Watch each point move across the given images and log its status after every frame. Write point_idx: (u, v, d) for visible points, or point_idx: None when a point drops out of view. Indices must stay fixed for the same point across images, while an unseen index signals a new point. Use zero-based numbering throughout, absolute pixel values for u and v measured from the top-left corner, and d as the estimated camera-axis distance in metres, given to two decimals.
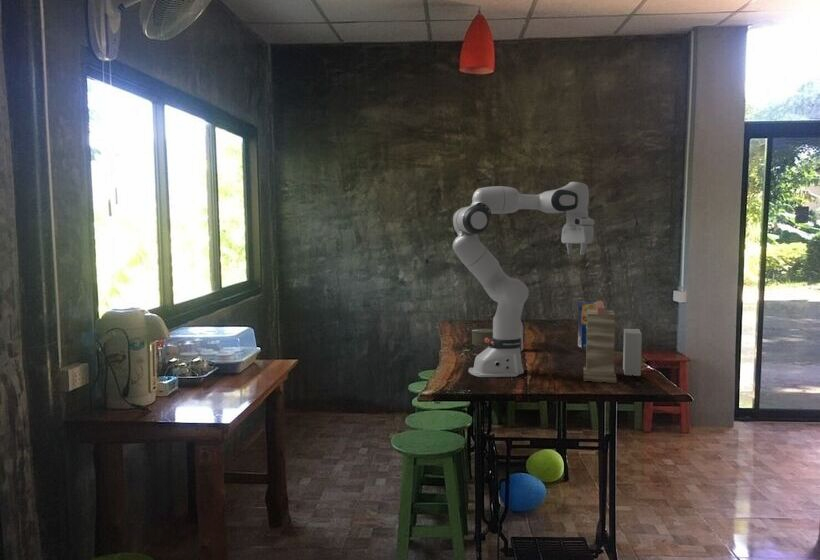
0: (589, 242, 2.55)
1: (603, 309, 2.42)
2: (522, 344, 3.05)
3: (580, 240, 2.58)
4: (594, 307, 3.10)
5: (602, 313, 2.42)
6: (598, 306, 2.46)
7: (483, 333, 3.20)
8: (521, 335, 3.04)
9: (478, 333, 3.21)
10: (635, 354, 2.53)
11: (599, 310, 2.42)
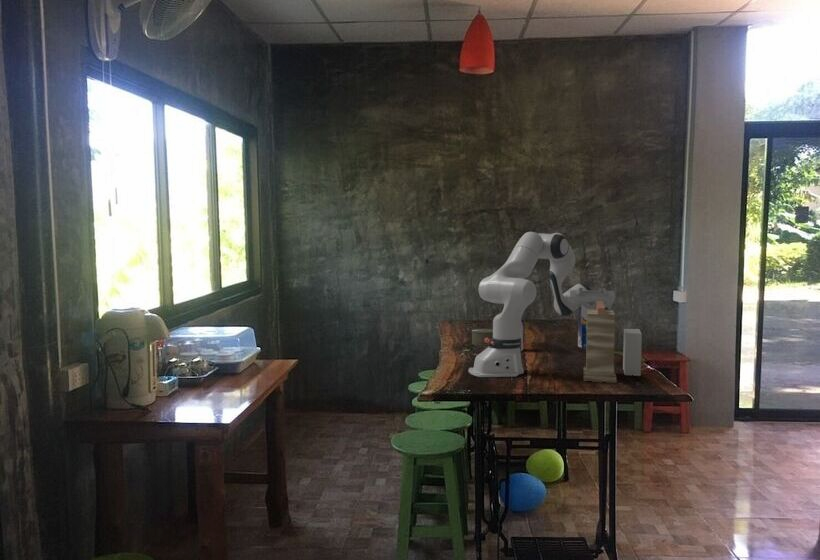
0: (614, 295, 2.80)
1: (603, 309, 2.42)
2: (522, 344, 3.05)
3: None
4: None
5: (602, 313, 2.42)
6: (598, 306, 2.46)
7: (483, 333, 3.20)
8: (521, 335, 3.04)
9: (478, 333, 3.21)
10: (635, 354, 2.53)
11: (599, 310, 2.42)
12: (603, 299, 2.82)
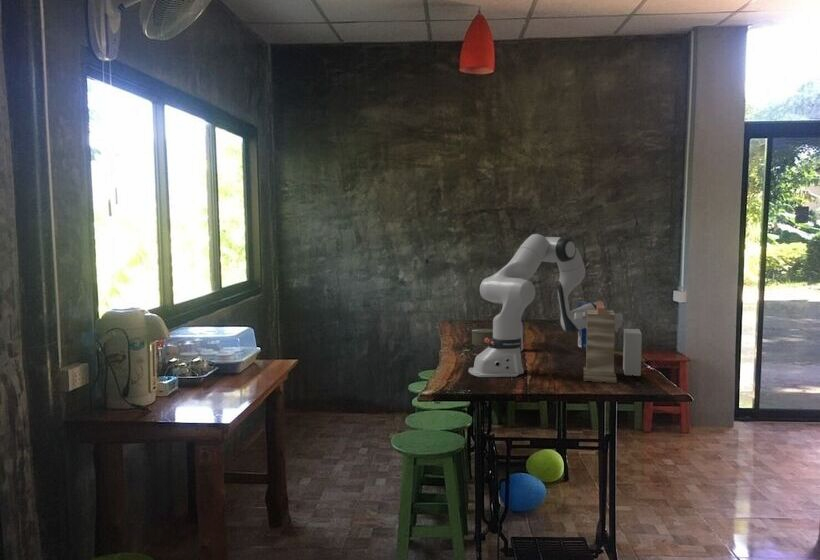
0: (622, 318, 2.70)
1: (603, 309, 2.42)
2: (522, 344, 3.05)
3: None
4: None
5: (602, 313, 2.42)
6: (598, 306, 2.46)
7: (483, 333, 3.20)
8: (521, 335, 3.04)
9: (478, 333, 3.21)
10: (635, 354, 2.53)
11: (599, 310, 2.42)
12: None
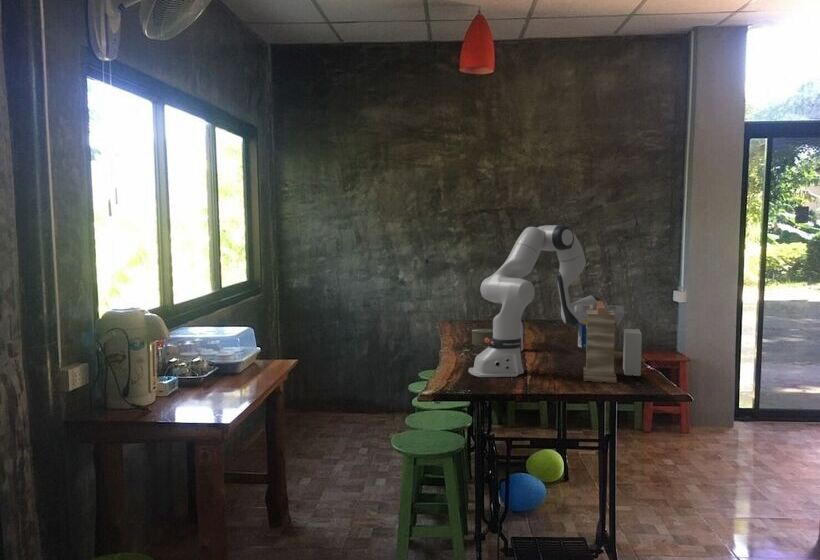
0: (623, 310, 2.64)
1: (603, 309, 2.42)
2: (522, 344, 3.05)
3: None
4: None
5: (602, 313, 2.42)
6: (598, 306, 2.46)
7: (483, 333, 3.20)
8: (521, 335, 3.04)
9: (478, 333, 3.21)
10: (635, 354, 2.53)
11: (599, 310, 2.42)
12: None
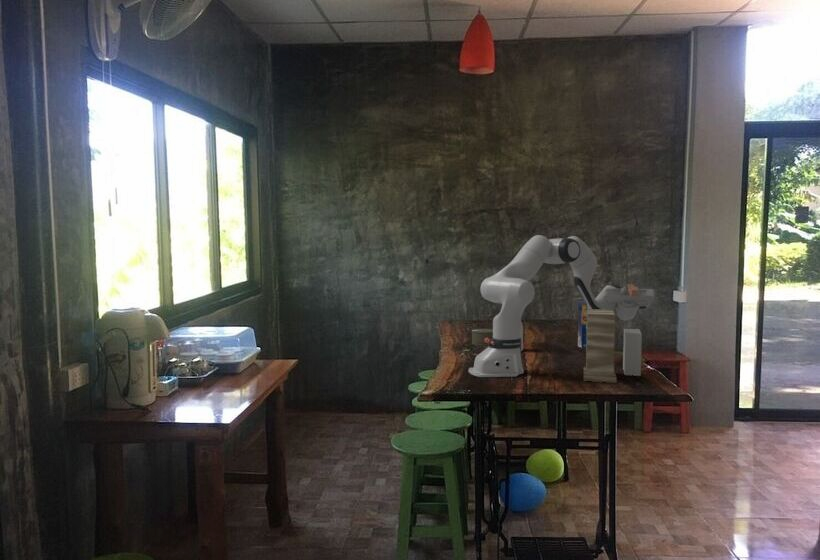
0: (653, 293, 2.70)
1: (637, 291, 2.48)
2: (522, 344, 3.05)
3: None
4: None
5: (636, 295, 2.48)
6: (631, 288, 2.52)
7: (483, 333, 3.20)
8: (521, 335, 3.04)
9: (478, 333, 3.21)
10: (635, 354, 2.53)
11: (633, 292, 2.48)
12: (642, 298, 2.72)
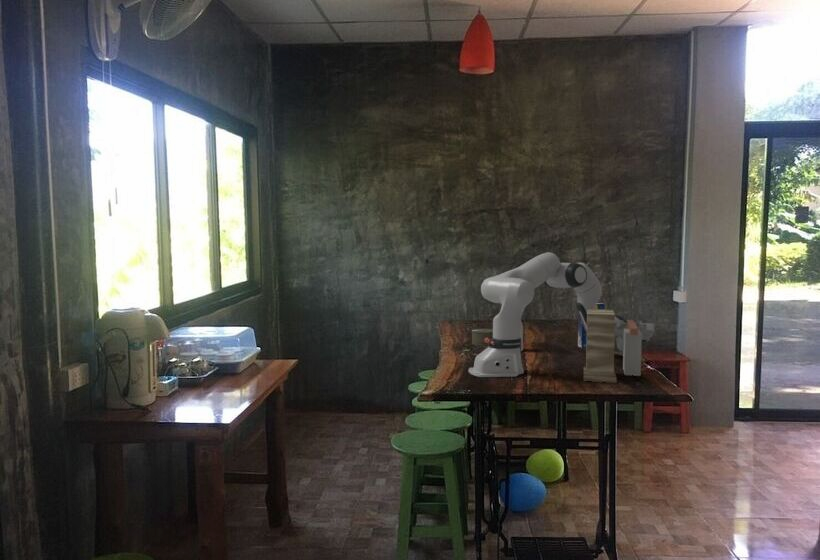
0: (653, 327, 2.71)
1: (636, 330, 2.49)
2: (522, 344, 3.05)
3: None
4: (594, 307, 3.10)
5: (635, 334, 2.49)
6: (631, 326, 2.54)
7: (483, 333, 3.20)
8: (521, 335, 3.04)
9: (478, 333, 3.21)
10: (635, 354, 2.53)
11: (633, 330, 2.49)
12: (642, 332, 2.73)
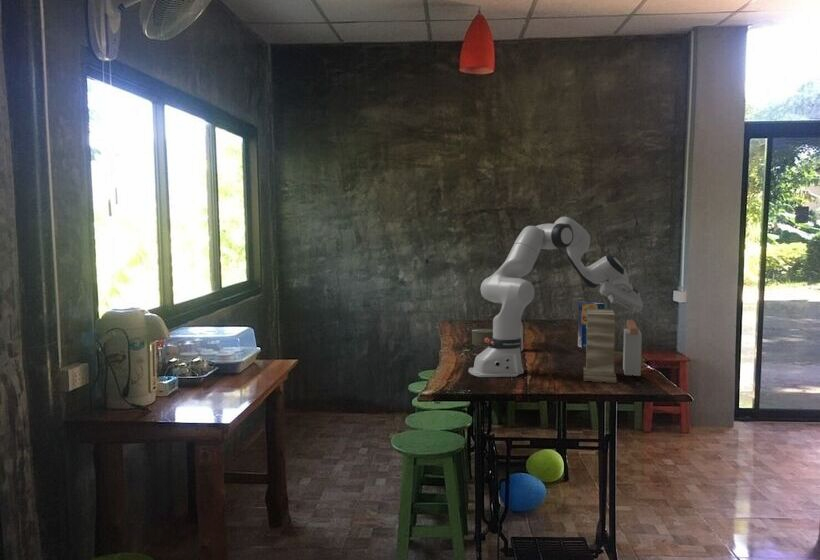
0: (640, 310, 2.81)
1: (636, 330, 2.49)
2: (522, 344, 3.05)
3: (635, 303, 2.80)
4: (594, 307, 3.10)
5: (635, 334, 2.49)
6: (631, 326, 2.54)
7: (483, 333, 3.20)
8: (521, 335, 3.04)
9: (478, 333, 3.21)
10: (635, 354, 2.53)
11: (633, 330, 2.49)
12: None
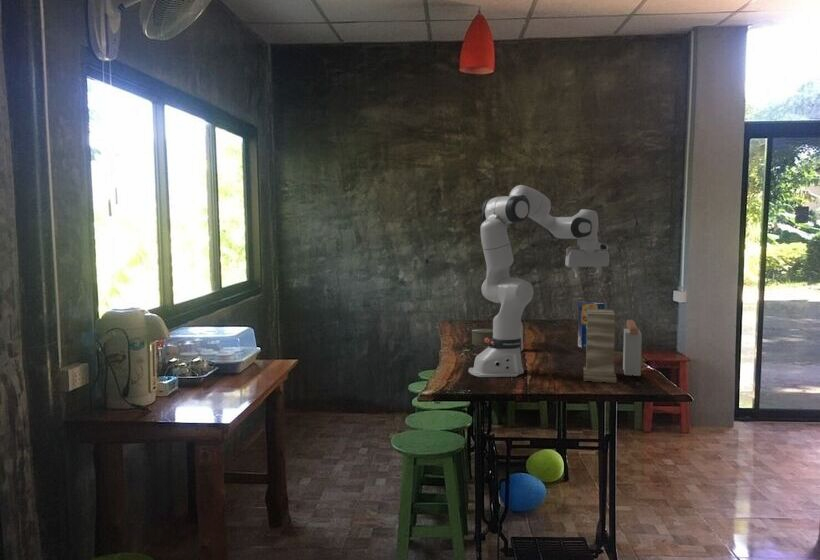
0: None
1: (636, 330, 2.49)
2: (522, 344, 3.05)
3: (601, 264, 2.82)
4: (594, 307, 3.10)
5: (635, 334, 2.49)
6: (631, 326, 2.54)
7: (483, 333, 3.20)
8: (521, 335, 3.04)
9: (478, 333, 3.21)
10: (635, 354, 2.53)
11: (633, 330, 2.49)
12: None
